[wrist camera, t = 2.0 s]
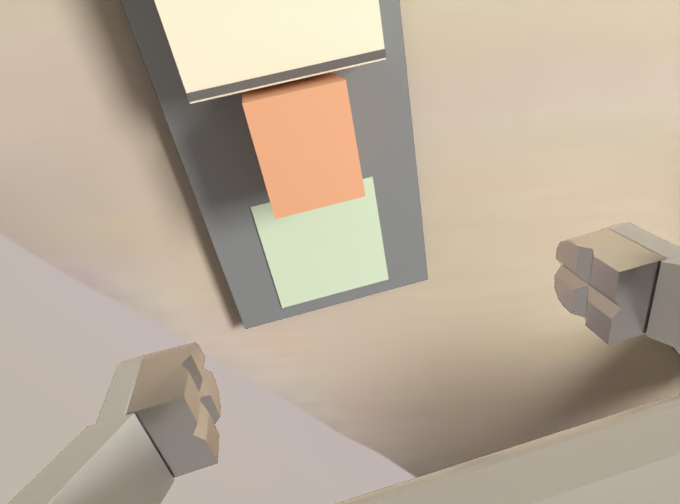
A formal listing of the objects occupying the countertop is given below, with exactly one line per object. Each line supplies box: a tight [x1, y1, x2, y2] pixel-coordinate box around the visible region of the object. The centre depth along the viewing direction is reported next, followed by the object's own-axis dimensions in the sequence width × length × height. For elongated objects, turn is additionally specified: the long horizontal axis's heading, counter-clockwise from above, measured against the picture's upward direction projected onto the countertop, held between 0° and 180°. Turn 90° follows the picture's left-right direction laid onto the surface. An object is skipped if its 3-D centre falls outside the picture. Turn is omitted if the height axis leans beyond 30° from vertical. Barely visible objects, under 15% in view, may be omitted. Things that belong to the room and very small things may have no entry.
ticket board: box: [121, 0, 428, 329], centre depth 23 cm, size 14×32×4 cm, turn 11°
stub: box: [242, 72, 365, 219], centre depth 24 cm, size 5×6×4 cm
